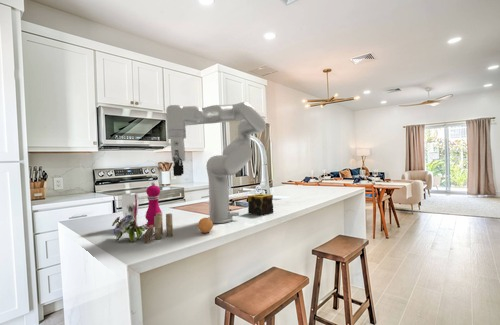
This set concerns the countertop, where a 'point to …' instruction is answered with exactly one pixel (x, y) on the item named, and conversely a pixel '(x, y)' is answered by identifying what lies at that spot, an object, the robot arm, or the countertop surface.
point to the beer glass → (130, 205)
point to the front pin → (169, 225)
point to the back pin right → (161, 222)
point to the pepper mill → (152, 203)
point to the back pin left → (157, 227)
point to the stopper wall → (148, 234)
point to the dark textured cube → (260, 204)
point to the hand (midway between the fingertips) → (178, 175)
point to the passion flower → (127, 227)
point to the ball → (205, 225)
